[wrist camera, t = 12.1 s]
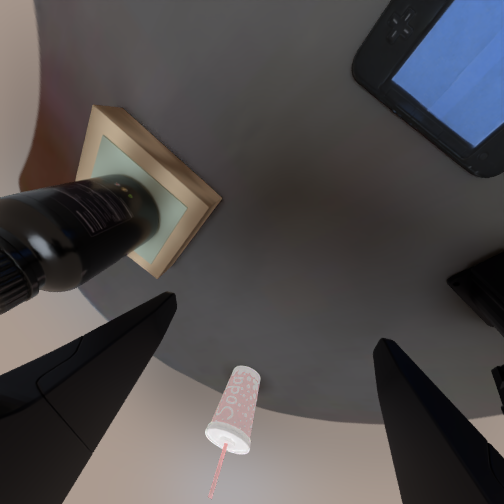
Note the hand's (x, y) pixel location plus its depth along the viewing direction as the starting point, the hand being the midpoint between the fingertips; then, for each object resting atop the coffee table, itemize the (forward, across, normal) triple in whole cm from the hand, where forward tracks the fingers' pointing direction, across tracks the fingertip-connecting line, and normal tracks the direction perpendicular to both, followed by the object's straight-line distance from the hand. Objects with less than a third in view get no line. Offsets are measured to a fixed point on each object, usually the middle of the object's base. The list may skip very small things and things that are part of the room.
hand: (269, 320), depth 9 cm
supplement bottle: (+11, +15, +1) cm, 19 cm away
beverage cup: (+13, +2, +28) cm, 31 cm away
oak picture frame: (+14, +15, +1) cm, 20 cm away
